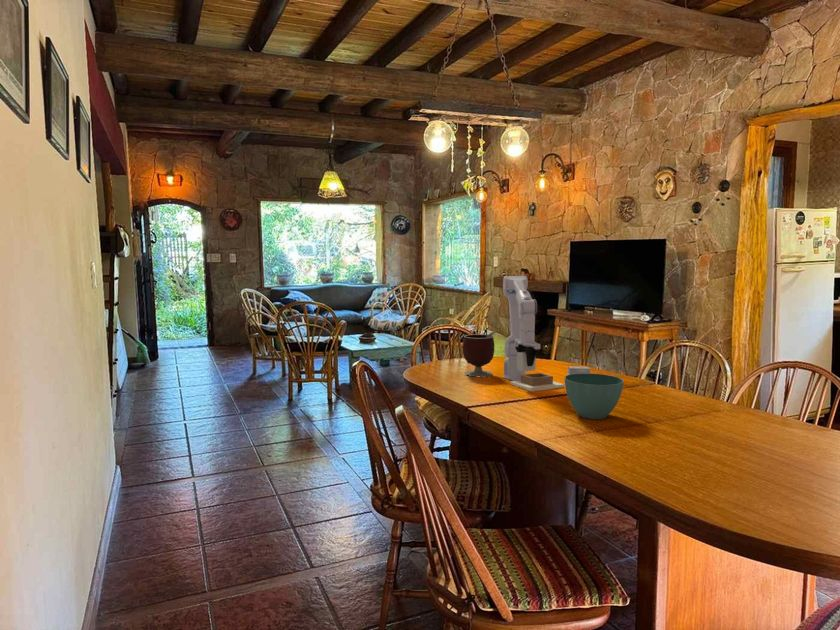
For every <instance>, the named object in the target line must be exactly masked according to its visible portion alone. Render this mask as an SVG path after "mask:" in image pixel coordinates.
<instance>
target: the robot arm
mask: <svg viewBox="0 0 840 630" xmlns="http://www.w3.org/2000/svg"><path fill="white" fill-rule="evenodd" d="M528 285H529V279H528V276H526V275H509V276H508V275H504V276H503V279H502V290H503V291H502V292H503V296H504V297H505V298H507V301H508V307H509V308H508V309H509V322H510V323H509V324H510V335H509V336H508V337H506V339H505V341H504V354H505V356H506V358H505V359H504V362H503V375H502V378H504V379H507V380H510V381H520V380H521V375H525V374H526V373H527V371H526V372H522V371H518V370H517V352H526V357H527V366H533V363H534V359H535V357H537V354H538V352H539V351H540V350H541V343H538V342H537V341H535V338H536V334H535V329H536V328H535V327H536V326H535V324H536V314H537V312H538V303H537V300H536V299H535V298H534V299H533V298H532V295H531V294H530V291H528V290H527V289H528Z"/></svg>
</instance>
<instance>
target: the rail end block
mask: <svg viewBox="0 0 840 630" xmlns="http://www.w3.org/2000/svg"><path fill="white" fill-rule="evenodd" d="M536 357H537V356H536ZM536 357H535V359H534V363H533V366H527V357H526V352H517V370H518V371H522V372H526V373H527V372H532V371H533V372H534V371H536V361H537V360H536Z"/></svg>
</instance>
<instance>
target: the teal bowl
mask: <svg viewBox="0 0 840 630" xmlns="http://www.w3.org/2000/svg"><path fill="white" fill-rule="evenodd" d="M624 383H625V382H624V379H622V378H621V377H618V376H614V375H610V374H603V373H602V374H601V373H592V372H590V373H578V374H570V375H568V374H566V375H565V376H564V388H565V392H566V396H567V398H568V400H569V402H570V404H571V406H572V407H573V409H574V410H575V413H577V414H578V416H580V417H582V418H584V419H590V420H602V419H605V418H607V417H608V416H609V415H610V414H611V413H612V412H613V411H614V409H615V408H616V406H617V405H618V403H619V401H620V398H621V396H622V392H623V388H624Z"/></svg>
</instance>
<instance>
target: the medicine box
mask: <svg viewBox="0 0 840 630" xmlns="http://www.w3.org/2000/svg"><path fill="white" fill-rule="evenodd" d="M578 373H591V368H590V367H589V366H567V375H570V374H578Z"/></svg>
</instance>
